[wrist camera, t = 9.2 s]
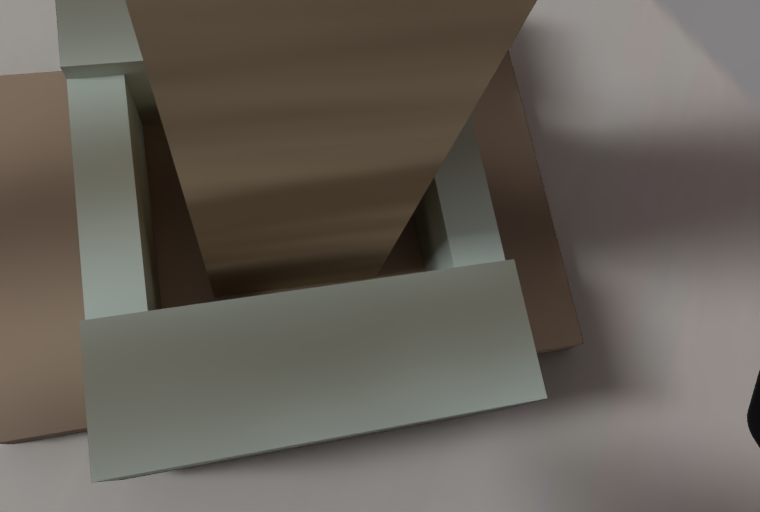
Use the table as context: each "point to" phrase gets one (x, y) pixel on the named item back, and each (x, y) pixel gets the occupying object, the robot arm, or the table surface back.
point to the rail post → (313, 122)
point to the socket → (249, 310)
